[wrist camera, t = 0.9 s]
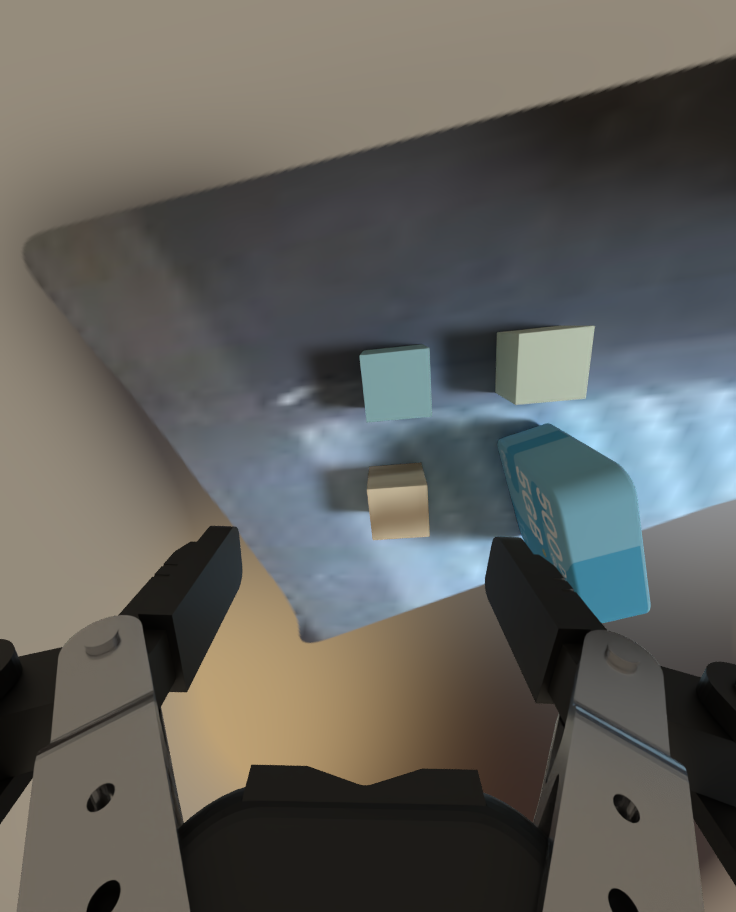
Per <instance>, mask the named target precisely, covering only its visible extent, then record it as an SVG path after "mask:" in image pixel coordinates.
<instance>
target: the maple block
mask: <svg viewBox="0 0 736 912" xmlns="http://www.w3.org/2000/svg"><path fill="white" fill-rule="evenodd" d="M367 495H368V504H369V512H370V521H371V529H372V538H373V540H383V539H398V538H414V537H430V533H429V511H428V490H427V482H426V479H425V475H424V471H423V468H422V464H421V463H408V464H396V465H383V466H371V467H369V473H368V483H367Z"/></svg>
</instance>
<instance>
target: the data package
mask: <svg viewBox="0 0 736 912" xmlns="http://www.w3.org/2000/svg"><path fill="white" fill-rule="evenodd" d="M498 450H499V454H500V458H501V462H502V466H503V469H504V473H505V477H506V481H507V484H508V488H509V492H510V496H511V499H512V503H513V507H514V511H515V514H516V518H517V522H518V526H519V529H520V532H521V535H522V537H523V539H524V541H525V543H526V544H527V546H528V547H529V548H530V550H531V551H532V552H533V554H538V555H540V556H542V557H543V558H545V559H546V560H547V561H549V562H550V563H552V564H553V565H554V566H555V567H556V568H557V569H558V570H559V572H560V573H561V574H562V575H563V577H564V578H565V581H567V582H568V583H569V584H570V585H571V586H572V588H573V589H574V592H576V593H577V594H578V595H579V596H580V597H581V599H582V600H583V601H584V602H585V604H586V605H587V606H588V607H589V609H590V610H591V611H592V612H593V613H594V615H595V616H596V617H597V618H598V620H599V621H600V622H601V623H605V622H610V621H614V620H618V619H623V618H627V617H632V616H636V615H640V614H645V613H647V612H649V610H650V596H649V589H648V580H647V572H646V564H645V556H644V548H643V540H642V532H641V524H640V516H639V507H638V499H637V493H636V489H635V486H634V484H633V482H632V480H631V478H630V476H629V475H628V474H627V472H626V471H625V470H624V469H623V468H622V467H621V466H620V465H619V464H618V463H616V462H614V461H613V460H611V459H609V458H608V457H606V456H604V455H602V454H601V453H599V452H597V451H596V450H594V449H592V448H591V447H589V446H587V445H586V444H584V443H582V442H580V441H579V440H577V439H575V438H574V437H572V436H570V435H569V434H567V433H565V432H564V431H562V430H560V429H558V428H557V427H555V426H553V425H552V424H549V423H547V424H543V425H540V426H537V427H534V428H531V429H528V430H525V431H522V432H519V433H516V434H513V435H510V436H507V437H504V438H501V439H499V440H498Z"/></svg>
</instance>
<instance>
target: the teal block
mask: <svg viewBox="0 0 736 912" xmlns="http://www.w3.org/2000/svg"><path fill="white" fill-rule="evenodd" d="M359 356H360V366H361V375H362V384H363V393H364V402H365V411H366V420H367V422H378V421H389V420H400V419H411V418H422V417H432V403H431V377H430V351H429V348H428V347H426V346H424V345H422V344H420V345H411V346H401V347H392V348H383V349H373V350H364V351H362V353H361V354H360V355H359Z"/></svg>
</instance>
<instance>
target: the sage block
mask: <svg viewBox="0 0 736 912" xmlns="http://www.w3.org/2000/svg"><path fill="white" fill-rule="evenodd" d="M594 327H595V326H552V327H543V328H534V329H524V330H515V331H506V332H497V350H496V384H495V393H497V394H498V395H500V396H502V397H503V398H505V399H507V400H508V401H510V402H512V403H513V404H515V405H520V404H531V403H542V402H553V401H564V400H575V399H586V392H587V383H588V375H589V367H590V359H591V351H592V343H593V335H594Z"/></svg>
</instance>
